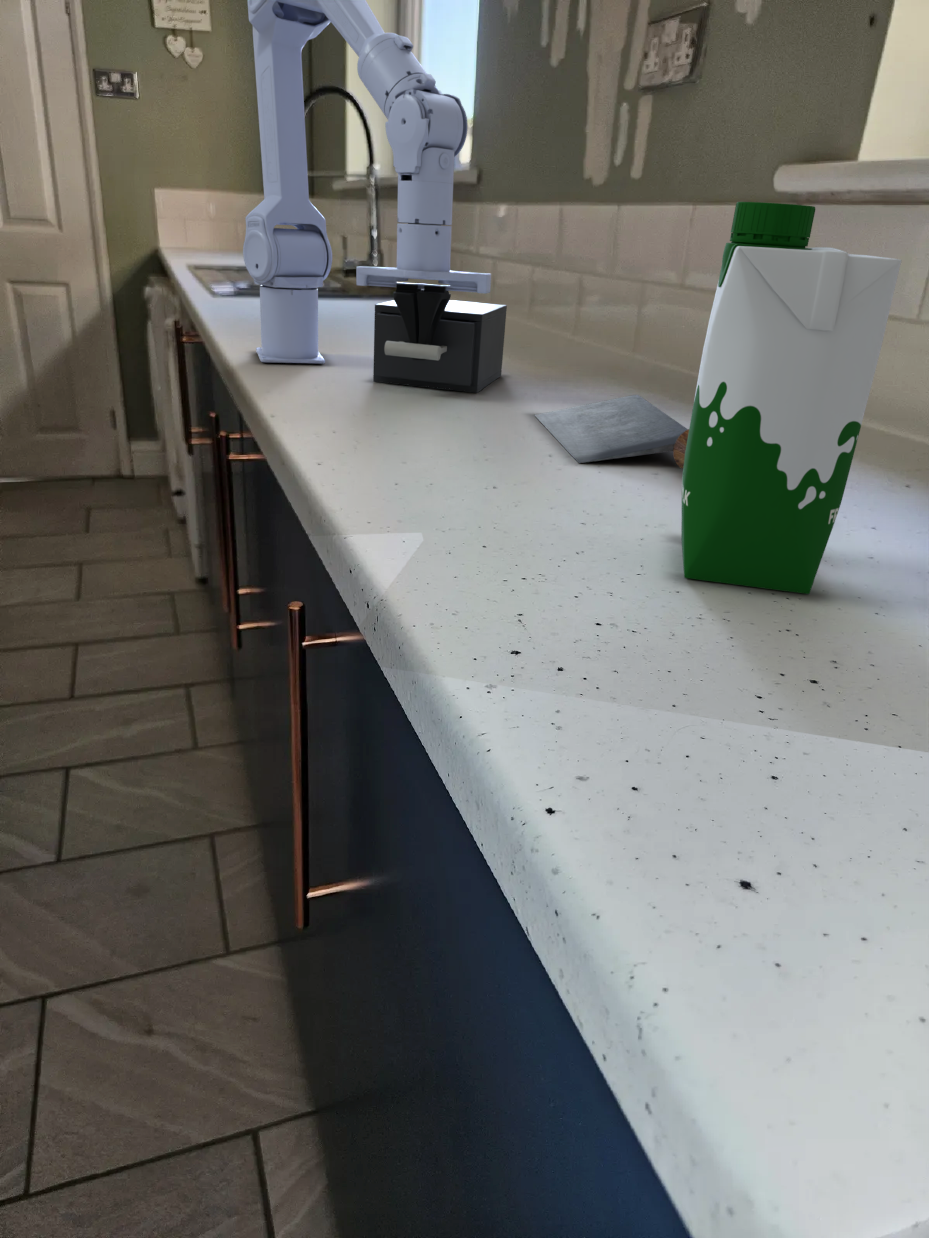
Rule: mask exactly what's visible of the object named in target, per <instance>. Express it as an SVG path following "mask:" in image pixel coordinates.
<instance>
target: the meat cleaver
mask: <svg viewBox="0 0 929 1238" xmlns="http://www.w3.org/2000/svg"><path fill="white" fill-rule="evenodd" d="M534 417H535V418H536V419H537V420H538V421H539V422H540V423H541V424H542V425H543V426H544V427H545V428H546V429H547V431H548V432H549V433H550V434H551V435H552V437H554V438H555V440H557V441H558V442H559V443H560V445H561V446H562V447H563V448H564V449H565V450H566V451H567V452H568V454H570V455H571V456H572V458H573V459H574V460H575V461H576V462H577V463H578V464H584V463H591V462H599V461H607V460H613V459H614V460H615V459H622V458H629V457H637V456H645V455H646V456H647V455H651V454H652V455H653V454H660V453H669V452H673V455H672V456H673V459H674V462H675V464H676V465H677V466H678V467H679V468H680V469H682V470H683V467H684V457H685V451H686V445H687V439H688V433H689V428H687V427H685V426H684V425H683V424H682V423H679V422H678V421H677V420H676V419H675V418H672V417H671V416H670V415H668V414H667V413H666V412H664V411H662V410H661V409H660V408H658V407H657V406H655V405H653V404H652V403H651V402H649V401H648V400H646V399H645V398H643V397H642V396H641V395H640V394H632V395H626V396H621V397H617V398H612V399H606V400H602V401H596V402H592V403H586V404H582V405H577V406H572V407H567V408H562V409H557V410H552V411H547V412H543V413H537V414H534Z"/></svg>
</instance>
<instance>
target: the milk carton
mask: <svg viewBox="0 0 929 1238" xmlns="http://www.w3.org/2000/svg"><path fill="white" fill-rule="evenodd" d="M815 213H816V206H814V205H807V204H806V205H805V204H794V203H781V202H763V201H761V202H760V201H736V203H735V208H734V214H733V219H732V222H731V223H732V224H731V229H730V237H729V242H726V243H725V245H724V249H723V253H722V260H721V267H720V272H719V277H718V281H717V285H716V290H715V294H714V298H713V303H712V306H711V311H710V315H709V320H708V323H707V324H708V325H707V329H706V334H705V340H704V342H703V343H704V344H703V347H702V353H701V359H700V365H699V371H698V376H697V382H696V388H695V392H694V400H693V404H692V411H691V417H690V422H689V427H688V429H689V433H688V439H687V445H686V451H685V457H684V467H683V469H682V474H681V475H682V476H681V528H680V529H681V531H680V532H681V535H680V536H681V539H680V540H681V552H682V565H683V566H682V567H683V577H684V579H691V580H698V581H699V580H700V581H705V582H713V583H722V584H729V585H735V586H744V587H750V588H751V587H752V588H758V589H767V590H775V591H782V592H790V593H798V594H805V595H806V594H807V595H809V594H811V591H812V588H813V585H814V582H815V580H816V576H817V573H818V572H819V571H818V570H819V568H820V565H821V562H822V560H823V556H824V553H825V551H826V547H827V545H828V542H829V540H830V539H829V538H830V536H831V533H832V531H833V528H834V525H835V522H836V520H837V516H838V514H839V512H840V508H841V505H842V501H843V497H844V492H845V489H846V486H847V483H848V478H849V474H850V470H851V466H852V462H853V459H854V456H855V451H856V447H857V444H858V439H859V436H860V435H859V434H860V432H861V428H862V424H863V420H864V416H865V412H866V410H867V409H866V408H867V404H868V401H869V397H870V393H871V389H872V385H873V382H874V377H875V374H876V371H877V365H878V362H879V358H880V354H881V350H882V346H883V343H884V342H883V341H884V337H885V333H886V328H887V324H888V319H889V314H890V311H891V306H892V303H893V297H894V293H895V290H896V285H897V282H898V281H897V280H898V278H899V273H900V269H901V265H902V262H903V261H902V259H899V258H893V257H884V256H878V255H877V256H876V255H866V254H855V253H854V254H853V253H848V252H847V251H845V250H842V249H838V248H834V247H808V246H809V241H810V238H811V234H812V229H813V224H814V218H815Z"/></svg>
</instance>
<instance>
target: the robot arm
mask: <svg viewBox="0 0 929 1238" xmlns="http://www.w3.org/2000/svg"><path fill="white" fill-rule="evenodd" d="M247 12H248V13H247V14H248V21H249V23H250V24H251V25H252V40H253V41H252V42H253V57H254V70H255V71H254V72H255V85H256V98H257V99H256V100H257V114H258V126H259V127H258V128H259V129H258V130H259V141H260V142H259V143H260V155H261V157H260V158H261V169H262V170H261V171H262V172H261V173H262V185H263V186H262V187H263V200H262V201H261V202H259V204H257V205H256V206H255V207H254V208H253V209H252V210H250V212H248V214H247V215H246V216H245V218H244V219H245V236H244V241H243V246H242V257H243V262H244V265H245V268H246V270H247V272H248V274H249V275H250V277H251V278H252V279H253V284H254V285H257V286H259V309H260V311H259V313H260V339H261V340H260V341H261V344H260V345H261V347H260V346H259V347H255V351H256V354H257V356H258V359H259V361H260V362H261V363H279V364H280V363H281V364H282V363H283V364H284V363H285V364H325V363H326V360H325V358H324V357H323V356H322V355H321V353H320V352H319V288H323V287H324V281H325V280H326V279H327V278H328V276H329V274H330V272H331V269H332V264H333V250H332V246H331V243H330V240H329V237H328V233H327V220H326V218H325V217H324V216H323V214H322V213H321V212H320V211H319V210H318V209H317V208H316V207H315V206H314V205H313V204H312V202H311V200H310V194H309V192H310V191H309V175H308V158H307V157H308V155H307V135H306V118H305V102H304V101H305V99H304V98H305V97H304V81H303V61H302V50H303V48H304V47H305V45H306V44H307V42H308V41H309V40H313V39H315V38H317V37H318V35H320V34H321V33H322V32H323V30H325V28H327V26H329V24H332V26H334V28H335V29H336V31H338V33H339V34H340V35H341V37H342V38H343V39H344V40H345V42H346V43H347V44H348V45H349V46H350V48H351V50H353V52H355V54H356V56H357V57H358V59H357V63H356V68H357V75H358V78H359V79H360V81H361V82H362V84H363V85H364V87H365V88H366V90H367V91H368V93H369V94H370V96H371V97H372V99H373V100H374V101H375V103H376V104H377V107H378V108H379V109H380V111H381V112H382V113H383V115H384V117H385V118H386V120H387V121H385V135H386V139H387V141H388V144H389V146H390V148H391V151H392V157H393V158H392V159H393V160H392V161H393V162H392V163H393V164H392V165H393V168H394V171H395V173H396V174H397V216H396V217H397V218H396V219H397V220H396V221H397V224H396V267H388V266H385V267H384V266H367V265H360V266H358V265H357V266H356V268H355V269H356V277H355V279H356V281H355V283H356V284H355V285H356V286H361V287H362V286H363V287H367V286H370V287H385V288H386V287H387V288H396V289H395V291H393V293H392V296H393V300H394V301H395V303H396V305H397V307H398V309H399V311H400V314H401V316H402V318H403V321H404V324H405V327H406V330H407V334H408V338H409V342H410V343H414V344H424V345H432V342H433V338H434V335H435V332H436V329H437V326H438V324H439V321H440V319H441V316H442V314H443V312H444V310H445V308H446V306H447V304H448V302H449V300H451V297H452V294H451V293H450V292H463V293H464V292H465V293H477V294H485V295H486V294H490V293H491V287H492V286H491V285H492V273H489V272H488V273H487V272H486V273H485V272H471V271H458V270H451V254H452V231H453V228H452V226H453V204H454V173H455V157H457V155H459V154H460V152H461V151H462V149H463V147H464V145H465V143H466V141H467V136H468V129H469V127H468V126H469V124H468V116H467V113H466V110H465V108H464V106H463V104H462V101H461V99H460V98H459V97H458V96H457V95H454V94H449V93H442V91H441V90H439V88H437V87H438V86H436V84H437V81H436V79H435V77H434V76H433V75H432V74H431V73H427V71H426V70H425V68H424V67H423V66H422V64H421V63H420V62H419V60H418V58H417V57H416V56H415V54H414V52H413V49H414V44H413V43H412V41H411V40H410V39H409V37H408V36H403V35H399V34H397V33H395V32H385V30H384V29H383V27H382V26H381V24H380V22H379V21H378V19H377V17H376V15H375V14H374V12H373V10H372V9H371V7H370V5H369V4H368V2H367V0H247ZM277 225H279V226H292V227H295V228H281V227H276V226H277ZM409 279H410V280H428V281H437V283H438V284H433V283H432V284H431V283H417V282H416V283H415V282H408V281H409ZM412 359H413V360H427V359H419V358H412Z"/></svg>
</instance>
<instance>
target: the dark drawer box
mask: <svg viewBox="0 0 929 1238" xmlns="http://www.w3.org/2000/svg"><path fill="white" fill-rule="evenodd" d="M475 337H476V322H475V321H467V320H457V319H446V318H441V319H440V321H439V324H438V326H437V329H436V332H435V335H434V338H433V342H432V345H424V344H414V343H410V342H409V338H408V334H407V330H406V327H405V324H404V321H403V318H402V316H401V314H395V313H393V314H383V313H378V314H376V343H375V376H383V377H392V378H401V379H410V380H419V381H428V382H437V383H446V384H455V385H464V386H471V385H472V381H473V366H474V352H475ZM412 358H419V359H427V360H413V359H412Z"/></svg>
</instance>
